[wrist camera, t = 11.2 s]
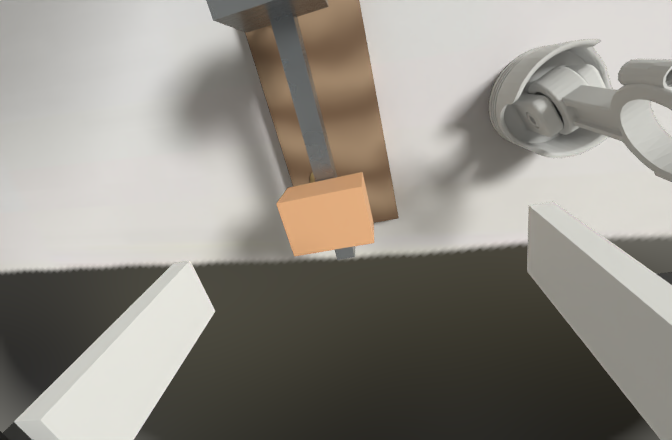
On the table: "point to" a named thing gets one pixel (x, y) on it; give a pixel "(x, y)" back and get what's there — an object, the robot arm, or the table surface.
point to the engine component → (583, 104)
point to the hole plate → (331, 100)
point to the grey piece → (289, 70)
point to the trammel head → (327, 215)
